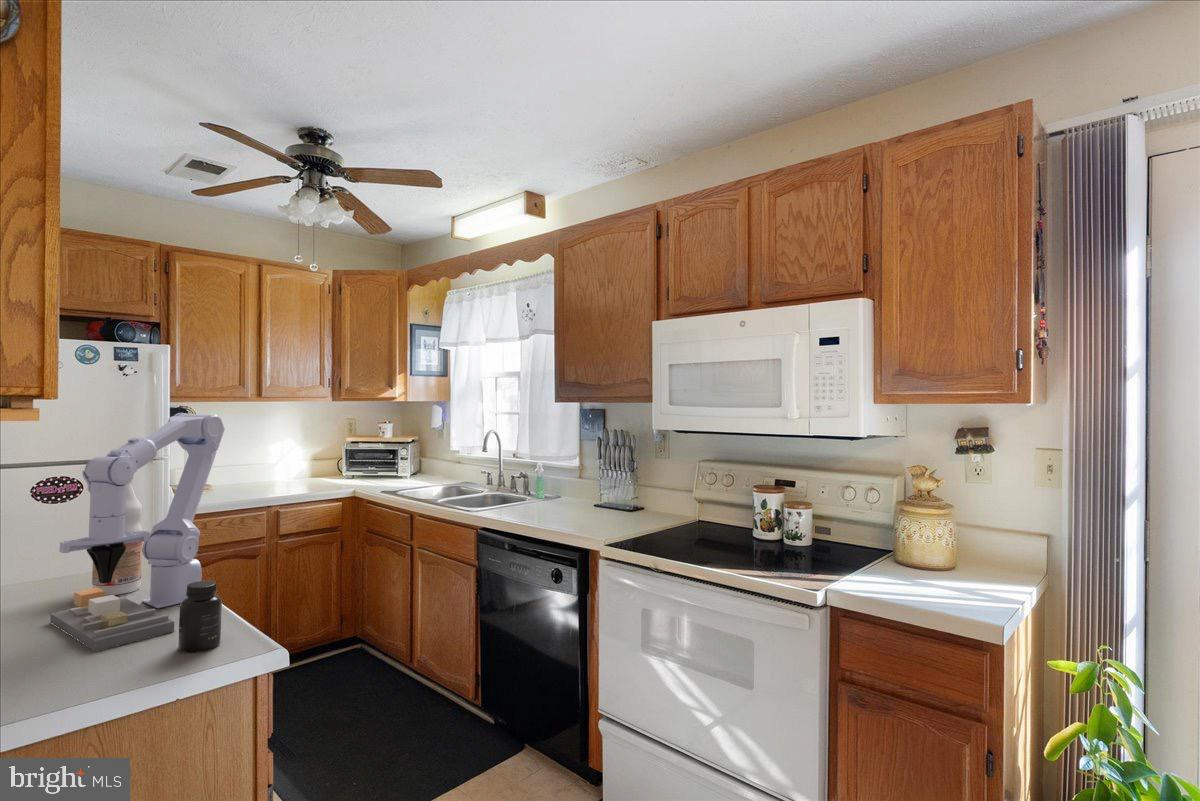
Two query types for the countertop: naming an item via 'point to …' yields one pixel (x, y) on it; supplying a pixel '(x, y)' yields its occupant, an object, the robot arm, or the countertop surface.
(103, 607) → the off-white button
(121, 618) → the wood grain block
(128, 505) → the fruit juice
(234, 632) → the countertop surface
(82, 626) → the grey ridged tray
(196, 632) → the supplement bottle
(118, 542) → the robot arm
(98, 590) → the orange button
